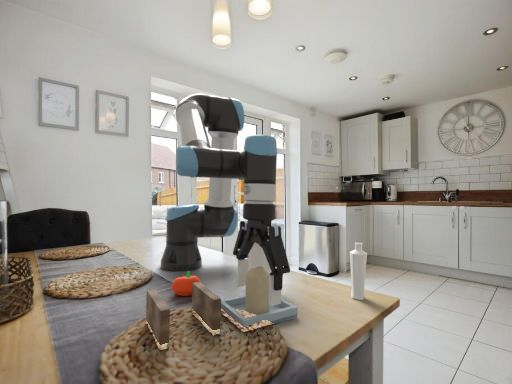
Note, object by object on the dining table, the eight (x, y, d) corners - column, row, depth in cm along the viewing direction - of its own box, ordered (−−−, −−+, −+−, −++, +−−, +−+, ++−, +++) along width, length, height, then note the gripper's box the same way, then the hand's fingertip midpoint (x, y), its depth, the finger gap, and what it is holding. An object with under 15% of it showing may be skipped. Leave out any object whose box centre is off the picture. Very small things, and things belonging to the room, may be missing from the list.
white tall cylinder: (272, 293, 77) (273, 236, 77) (243, 290, 79) (245, 235, 79) (275, 284, 85) (277, 232, 85) (250, 282, 87) (251, 231, 87)
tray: (218, 311, 64) (218, 300, 64) (266, 299, 72) (267, 290, 72) (243, 333, 54) (244, 321, 54) (297, 317, 62) (297, 306, 62)
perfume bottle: (355, 301, 72) (356, 244, 73) (346, 295, 77) (347, 241, 77) (370, 299, 74) (371, 244, 74) (360, 294, 78) (361, 241, 78)
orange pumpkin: (169, 295, 76) (169, 271, 76) (197, 290, 79) (197, 268, 80) (174, 300, 69) (174, 274, 70) (205, 295, 73) (204, 271, 74)
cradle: (145, 323, 58) (146, 290, 58) (198, 311, 64) (199, 281, 64) (159, 351, 48) (160, 310, 48) (220, 334, 54) (221, 298, 54)
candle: (255, 304, 67) (256, 263, 67) (273, 310, 64) (274, 267, 64) (240, 311, 63) (241, 267, 63) (259, 318, 59) (259, 272, 59)
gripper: (221, 200, 72) (219, 281, 72) (279, 205, 51) (276, 319, 51) (246, 201, 76) (244, 277, 76) (308, 205, 55) (306, 310, 55)
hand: (257, 294), depth 63 cm, fingers open, 13 cm apart
